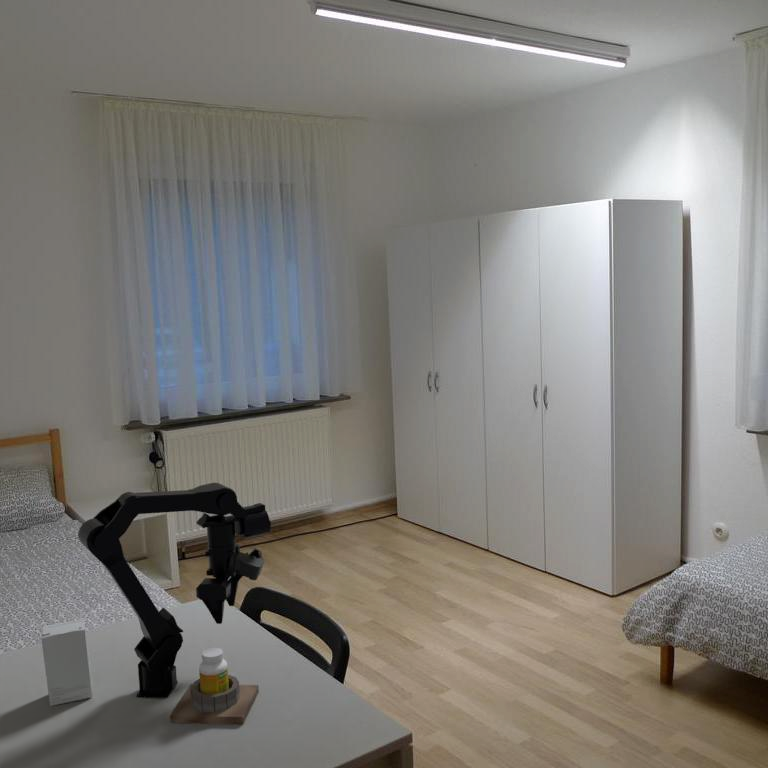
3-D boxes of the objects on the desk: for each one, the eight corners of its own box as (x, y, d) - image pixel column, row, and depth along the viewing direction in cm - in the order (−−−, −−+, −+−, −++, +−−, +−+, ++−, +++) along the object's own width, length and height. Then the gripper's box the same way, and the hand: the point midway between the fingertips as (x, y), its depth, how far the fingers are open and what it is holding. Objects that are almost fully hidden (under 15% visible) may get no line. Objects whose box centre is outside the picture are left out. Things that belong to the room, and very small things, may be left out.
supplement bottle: (222, 707, 154) (220, 659, 153) (196, 705, 155) (193, 657, 154) (233, 693, 160) (230, 646, 158) (208, 691, 161) (205, 645, 159)
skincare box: (92, 685, 168) (86, 617, 166) (92, 699, 162) (86, 628, 160) (48, 693, 165) (42, 624, 163) (47, 707, 159) (41, 636, 157)
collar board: (170, 722, 152) (168, 700, 152) (190, 690, 164) (189, 669, 164) (243, 724, 151) (241, 701, 151) (258, 692, 163) (257, 670, 162)
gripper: (248, 558, 160) (251, 633, 162) (269, 529, 179) (272, 597, 181) (193, 558, 161) (197, 633, 163) (220, 529, 180) (223, 597, 182)
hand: (225, 614), depth 172 cm, fingers open, 9 cm apart
